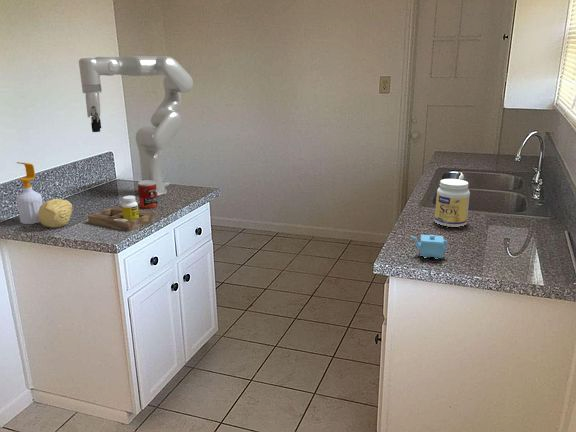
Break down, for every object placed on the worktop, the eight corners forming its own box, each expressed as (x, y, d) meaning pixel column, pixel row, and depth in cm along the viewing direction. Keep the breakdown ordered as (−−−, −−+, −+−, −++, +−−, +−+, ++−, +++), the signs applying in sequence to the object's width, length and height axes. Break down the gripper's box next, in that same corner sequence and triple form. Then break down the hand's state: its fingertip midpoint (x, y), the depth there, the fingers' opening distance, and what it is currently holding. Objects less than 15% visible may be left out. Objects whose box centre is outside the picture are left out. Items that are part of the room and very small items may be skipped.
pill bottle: (135, 226, 207) (132, 199, 204) (120, 225, 208) (117, 198, 205) (142, 221, 213) (139, 195, 209) (128, 220, 214) (125, 194, 211)
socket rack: (115, 213, 224) (114, 205, 223) (154, 220, 214) (153, 213, 213) (88, 222, 212) (87, 214, 211) (129, 231, 202) (128, 223, 201)
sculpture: (58, 231, 203) (54, 204, 199) (33, 228, 207) (29, 201, 203) (79, 222, 213) (75, 196, 209) (55, 219, 217) (51, 194, 213)
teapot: (409, 258, 174) (410, 237, 172) (409, 251, 180) (410, 230, 178) (447, 261, 172) (449, 239, 169) (446, 254, 177) (448, 233, 175)
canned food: (145, 210, 227) (142, 185, 224) (136, 206, 233) (134, 182, 230) (161, 206, 232) (159, 182, 229) (152, 202, 238) (150, 179, 234)
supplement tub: (432, 226, 204) (435, 184, 198) (436, 217, 214) (439, 176, 209) (465, 230, 199) (470, 187, 194) (467, 220, 210) (472, 179, 205)
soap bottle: (15, 223, 212) (4, 163, 205) (33, 216, 220) (23, 158, 213) (33, 225, 209) (22, 164, 202) (50, 218, 217) (40, 160, 210)
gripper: (83, 87, 227) (88, 127, 232) (80, 91, 211) (86, 133, 216) (102, 87, 229) (106, 126, 234) (100, 90, 213) (105, 132, 218)
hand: (96, 130), depth 225 cm, fingers open, 9 cm apart
